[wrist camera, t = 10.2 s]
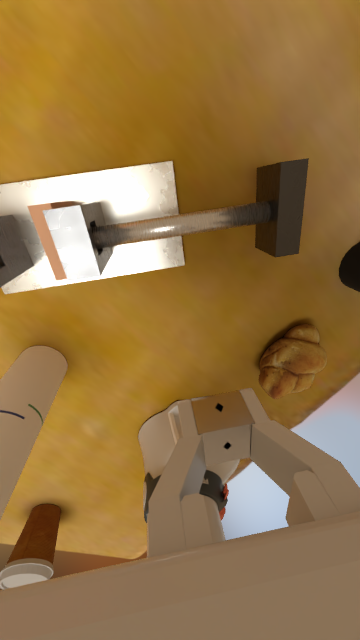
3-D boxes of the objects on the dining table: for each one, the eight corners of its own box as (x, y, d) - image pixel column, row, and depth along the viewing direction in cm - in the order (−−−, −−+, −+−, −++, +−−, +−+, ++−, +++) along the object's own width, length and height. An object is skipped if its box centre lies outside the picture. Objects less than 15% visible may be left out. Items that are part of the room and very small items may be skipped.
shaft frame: (171, 161, 28) (184, 145, 19) (183, 263, 34) (198, 290, 24) (-42, 191, 27) (-144, 189, 17) (8, 291, 33) (-48, 331, 23)
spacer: (71, 200, 28) (49, 202, 22) (89, 261, 31) (75, 277, 25) (53, 203, 28) (27, 206, 22) (73, 263, 31) (56, 280, 25)
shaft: (279, 164, 25) (308, 158, 20) (274, 244, 29) (298, 253, 24) (77, 193, 24) (61, 193, 19) (100, 272, 27) (91, 287, 23)
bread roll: (291, 310, 40) (323, 335, 33) (328, 335, 43) (363, 362, 36) (242, 366, 44) (261, 399, 37) (279, 384, 47) (303, 417, 40)
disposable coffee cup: (62, 523, 60) (44, 593, 49) (20, 519, 57) (-8, 593, 47) (73, 502, 56) (56, 572, 46) (28, 497, 54) (0, 572, 43)
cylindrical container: (32, 337, 36) (-145, 561, 14) (76, 360, 39) (-15, 577, 17) (10, 368, 38) (-175, 608, 16) (53, 388, 41) (-54, 615, 19)
